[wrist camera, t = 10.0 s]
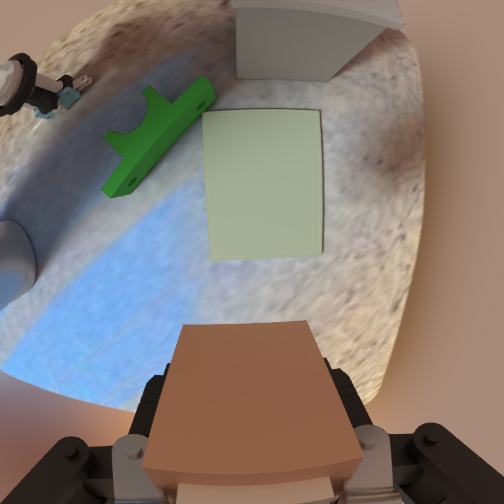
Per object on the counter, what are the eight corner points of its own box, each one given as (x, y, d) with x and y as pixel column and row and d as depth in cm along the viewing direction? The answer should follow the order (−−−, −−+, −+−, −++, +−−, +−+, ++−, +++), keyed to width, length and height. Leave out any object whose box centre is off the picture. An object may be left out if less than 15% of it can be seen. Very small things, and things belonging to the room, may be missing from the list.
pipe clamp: (187, 76, 20) (177, 56, 15) (216, 100, 21) (213, 83, 16) (104, 168, 22) (80, 168, 17) (130, 194, 22) (109, 199, 18)
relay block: (198, 405, 11) (182, 558, 3) (183, 324, 10) (126, 527, 2) (297, 401, 11) (333, 550, 4) (306, 320, 10) (387, 514, 2)
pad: (210, 260, 24) (210, 261, 24) (202, 113, 21) (202, 112, 20) (320, 254, 25) (321, 255, 24) (318, 111, 21) (319, 110, 21)
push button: (90, 62, 18) (35, 26, 8) (98, 102, 19) (35, 75, 10) (42, 95, 18) (-19, 78, 9) (49, 135, 20) (-19, 129, 10)
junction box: (233, 82, 20) (230, -41, 5) (231, 17, 18) (230, -105, 3) (331, 85, 20) (438, 4, 5) (322, 22, 18) (392, -77, 3)
